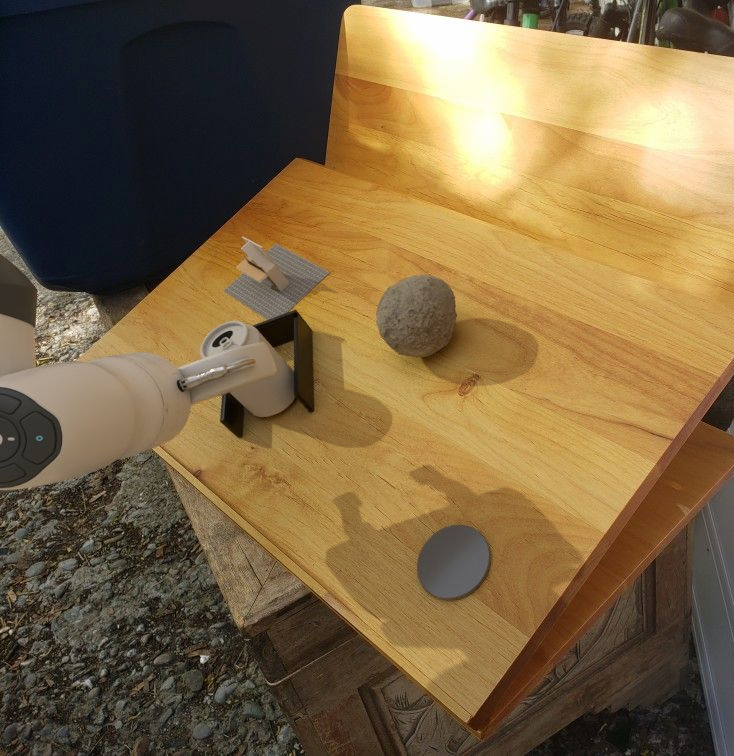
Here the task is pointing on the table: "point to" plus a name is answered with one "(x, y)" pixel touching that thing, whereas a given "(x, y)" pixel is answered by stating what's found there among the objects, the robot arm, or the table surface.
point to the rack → (301, 333)
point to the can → (261, 395)
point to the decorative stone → (417, 315)
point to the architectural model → (273, 279)
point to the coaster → (454, 562)
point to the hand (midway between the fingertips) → (208, 383)
